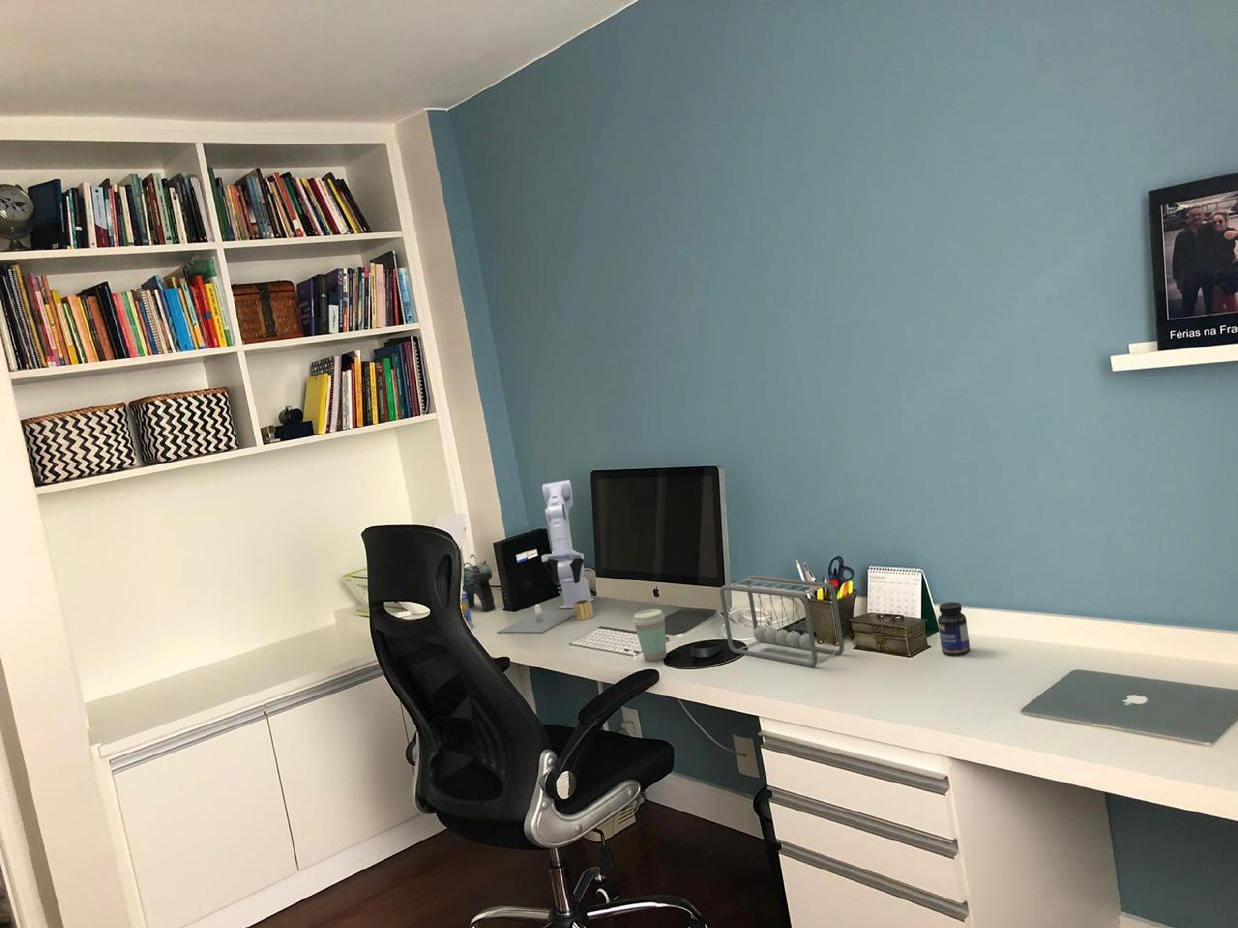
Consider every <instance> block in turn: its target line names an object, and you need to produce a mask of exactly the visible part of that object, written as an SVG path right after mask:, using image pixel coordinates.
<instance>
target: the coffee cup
mask: <svg viewBox="0 0 1238 928" xmlns="http://www.w3.org/2000/svg"><path fill="white" fill-rule="evenodd" d="M665 619H666V617H665V614H664V613H663V610H662V609H658V608H656V609H655V608H653V609H646V610H640V611H639V612H637V613H634V615H633V619H632V624H633V625H634V627H635V631H636V635H637V637H638V640H639V645H640V647H641V652H642V654H643V658H644V660H645V661H647V662H656V661H661V660H662V659H665V658H666V657H667V644H666V643H667V642H666V640H667V639H666V638H667V637H666V624H665Z"/></svg>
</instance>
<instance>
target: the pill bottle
mask: <svg viewBox="0 0 1238 928" xmlns="http://www.w3.org/2000/svg"><path fill="white" fill-rule="evenodd" d="M962 610H963V608H962V604H961V603H960V602H954V601H953V602H945V603H942V604H940V605H939V612H940V613H941V614H940V615H938V618H937V622H938V623H937V624H938V631H939V638H940V644H941V652H942V654H943V655H944V656H949V657H960V656H964V655H967V654H969V653H970V652H971V645H970V636H969V630H968V629H969V628H968V623H967V622H968V621H967V616H966V614H964V613H962Z"/></svg>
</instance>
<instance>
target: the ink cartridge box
mask: <svg viewBox="0 0 1238 928" xmlns="http://www.w3.org/2000/svg"><path fill="white" fill-rule="evenodd" d="M461 605H462V612H463V615H464V618H465V619H466V621H467V623H468V624H469V626H470V627H471V629H474V624H473V620H472V614H471V610H470V609H471V607H470V608H469V602H468V597H467V593H466V591H463V592H462V602H461Z"/></svg>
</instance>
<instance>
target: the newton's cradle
mask: <svg viewBox="0 0 1238 928" xmlns="http://www.w3.org/2000/svg"><path fill="white" fill-rule="evenodd" d="M743 582H745V583H746V585H738V584H741V583H743ZM752 582H754V583H752ZM757 583H759V586H758V587H755V586H752V585H754V584H757ZM761 583H766V584H763V585H761ZM772 584H777V585H774V586H772ZM766 585H769V586H770V587H769V588H764V587H763V586H766ZM780 585H781V588H780V589H774V588H775V587H776V586H780ZM783 585H786V587H783ZM787 585H788V586H787ZM793 586H796V587H799V588H795V589H792V590H791V591H790V590H784V589H786V588H789V587H793ZM806 587H808V588H814V589H811V590H808V591H806ZM772 588H773V589H772ZM801 588H803V590H804V591H803V592H800V591H796V590H799V589H801ZM823 588H826V589H828V590H829V593H830V597H831V603H832V610H833V614H834V615H833V616H834V622H835V623H834V624H835V628H836V629H835V630H836V633H837V635H836V636H837V641H838V649H834V648H833V649H831V648H828V647H827V648H825V647H820V646H816V640H815V634H814V628H813V623H812V616H811V610H810V605H809V600H808V599H807V597H806V595H808V594H810V593H813V592H815V591H817V590H820V589H823ZM725 591H733V592H734V591H735V592H743V593H747V596H748V601H749V602H748V603H749V607H750V614H751V620H752V625H753V637H754V639H755V640H756V641H755V642H752V643H750V644H748V645H745V646H742V647H740V648H736V646H735V645H734V643H733V641H734V640H733V636H732V630H731V625H730V618H729V613H728V607H727V602H726V595H725ZM753 594H757V595H758V598H759V613H760V614H759V616H760V617H759V618H760V620H759V622H760V624H759V622H758V619H757V614H756V608H755V607H756V606H755V601H754V595H753ZM719 595H720V600H721V608H722V615H723V619H724V624H725V631H726V637H727V643H728V647H729V649H730V650H731V651H732V652H733V653H735V654H737V655H738V654H740V655H743V656H744V655H745V656H749V657H755V658H761V659H764V660H771V661H774V662H776V661H777V662H780V663H781V662H782V663H786V664H792V665H796V666H801V667H802V666H803V667H806V668H814V667H815V666H817V665H818V663H819V662H822V661H824V660H825V659H828V658H830V657H833V656H837V655H838V656H840V655H842V654H843V652H844V650H845V644H844V638H843V636H844V635H843V631H842V625H841V618H840V612H839V605H838V600H837V598H838V597H837V594H836V590H835V587H834V586H833V585H832V583H828V582H821V581H814V580H813V581H812V580H803V579H802V580H801V579H793V578H792V579H791V578H783V577H782V578H781V577H780V578H779V577H773V576H772V577H769V576H761V575H760V576H759V575H749V576H747V578H745V579H743V580H740V581H738V582H737V581H736V582H734V583H731V584H729V585H726V584H725V585H722V586H721V587H720V589H719ZM761 595H768V596H769V600H770V604H771V607H772V608H773V609H772V610H773V612H772V611H770V624H769V621H768V618H767V615H766V612H765V610H764V609H765V608H764V606H763V603H762V600H761V599H762V598H761ZM772 596H776V597H780V600H781V604H782V607H783V609H784V610H781V625H782V626H781V625H780V623H779V620H778V617H777V614H776V613H777V612H776V611H775V607H774V605H773V602H772ZM783 597H784V598H791V599H792V616H793V618H792V621H793V624H792V625H793V626H795V611H796V613H797V617H798V621H799V622H800V625H801V628H802V631H803V634H802V635H801V634H800V633H799V632H797V631H795V630H792V627H791V624H790V620H789V617H788V615H787V612H786V609H785V606H784V601H783ZM794 599H799V600H801V601H802V604H803V608H804V614H805V629H804V627H803V624H802V622H801V621H802V620H801V619H800V616H799V612H798V610H797V606H796V603H795V601H794ZM761 608H762V610H761ZM794 608H795V610H794ZM762 611H763V614H764V616H765V620H766V623H767V626H768V628H767V627H765V626H763V625H762V614H761V612H762ZM783 611H784V612H785V616H786V619H787V622H788V625H789V628H790V632H789V631H788V630H786V629H784V621H783V615H784V613H783ZM772 613H774V614H775V618H776V622H777V625H778V627H779V629H780V630H778V629H776V628H774V627H773V621H772V619H773V618H772V617H773V615H772ZM770 625H771V627H770ZM805 630H806V631H805ZM761 642H762V643H767V644H772V645H778V646H782V647H789V648H795V649H800V650H807V651H811V656H812V661H811V662H810V661H805V660H799V659H795V658H794V659H793V658H789V657H783V656H777V655H774V654H767V653H762V652H756V651H752V650H746V649H747V648H749V647H751V646H753V645H756V644H759V643H761ZM817 652H818V653H824V654H829V655H827V656H824V657H822V658H819V659H818V654H817Z"/></svg>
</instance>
